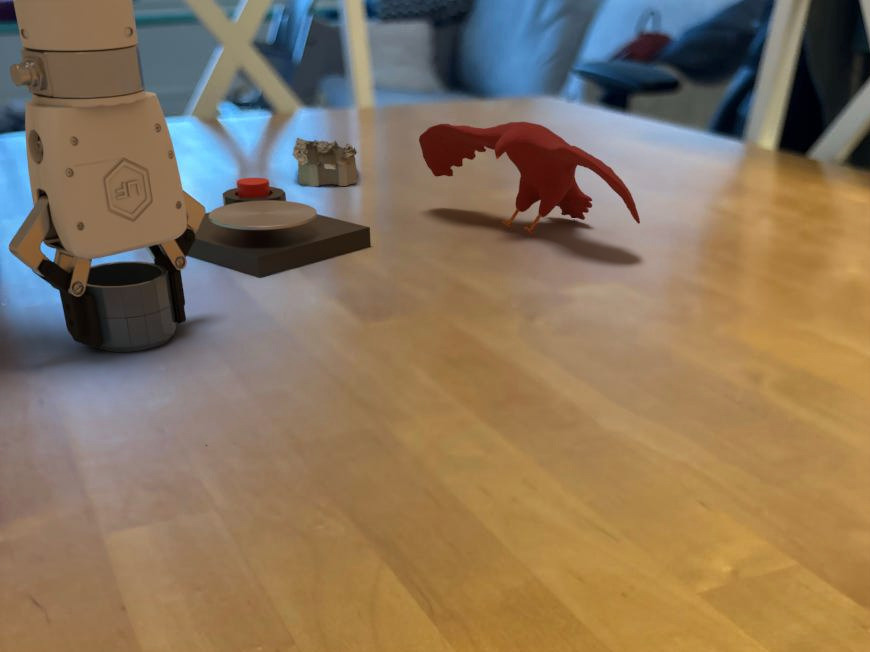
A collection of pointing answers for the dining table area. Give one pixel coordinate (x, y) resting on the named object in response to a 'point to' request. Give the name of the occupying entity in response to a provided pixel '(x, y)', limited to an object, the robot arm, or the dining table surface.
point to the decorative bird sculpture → (524, 164)
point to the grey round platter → (262, 215)
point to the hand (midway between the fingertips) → (130, 329)
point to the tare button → (253, 187)
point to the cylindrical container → (132, 305)
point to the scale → (275, 241)
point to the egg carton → (325, 163)
